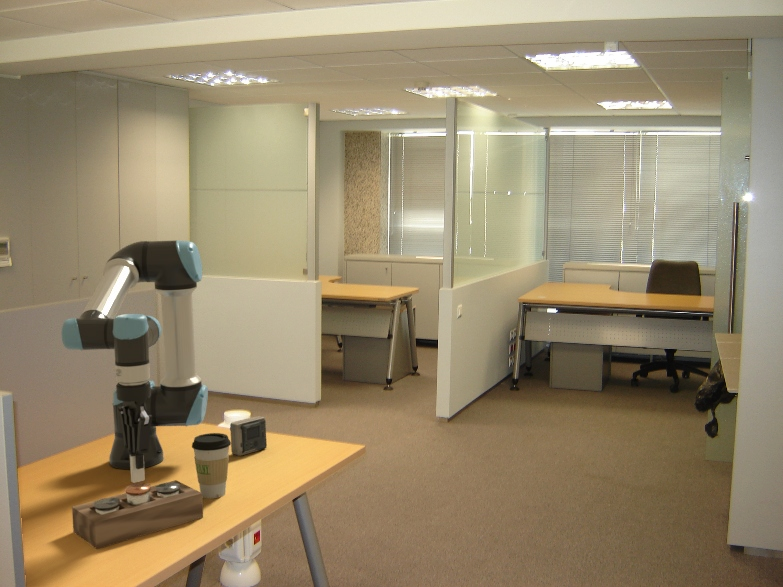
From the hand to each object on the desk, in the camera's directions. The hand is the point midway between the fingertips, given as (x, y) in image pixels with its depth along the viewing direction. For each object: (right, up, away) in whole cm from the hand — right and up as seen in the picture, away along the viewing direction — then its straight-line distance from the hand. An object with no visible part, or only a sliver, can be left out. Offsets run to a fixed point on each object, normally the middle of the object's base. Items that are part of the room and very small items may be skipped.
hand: (138, 480), depth 189 cm
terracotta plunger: (0, -8, +1) cm, 8 cm away
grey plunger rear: (+6, -9, +6) cm, 12 cm away
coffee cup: (+13, -8, +21) cm, 26 cm away
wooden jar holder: (0, -10, +1) cm, 11 cm away
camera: (+16, -5, +57) cm, 60 cm away
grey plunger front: (-5, -10, -4) cm, 13 cm away
